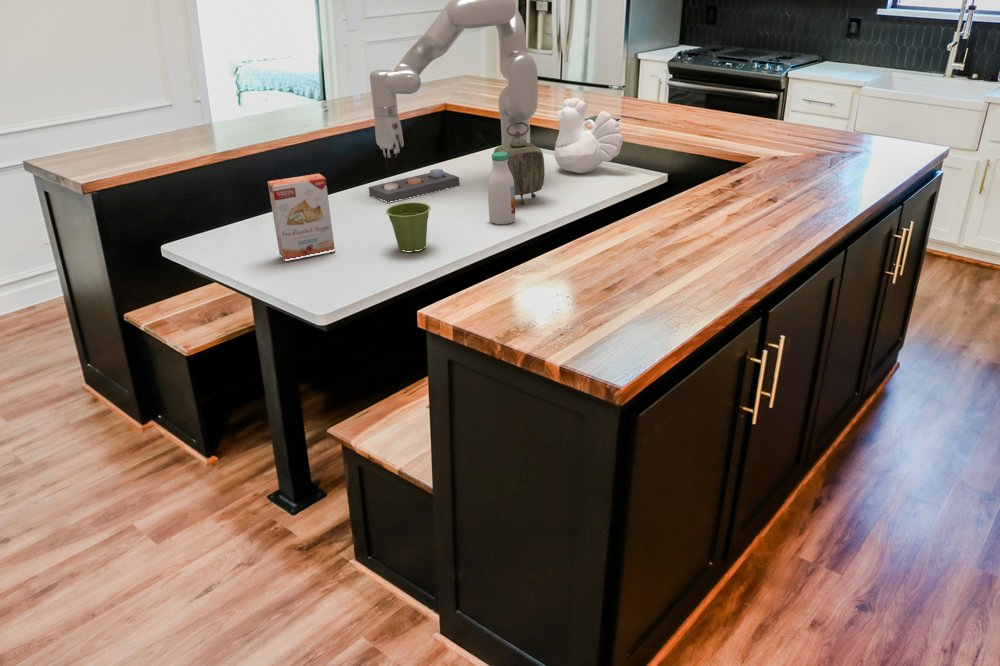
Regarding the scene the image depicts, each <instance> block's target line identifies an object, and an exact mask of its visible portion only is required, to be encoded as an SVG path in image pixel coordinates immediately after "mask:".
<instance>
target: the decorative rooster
mask: <svg viewBox="0 0 1000 666" xmlns="http://www.w3.org/2000/svg"><path fill="white" fill-rule="evenodd" d="M562 104H563V105H562V109H560V110H558V111H557V116H558V117H557V118H558V130H559V131H558V136H557V137H556V142H555V144H554V145H555V147H554V159H555V161H556V163H557V165H558V166H559V167H560V168H561V169H562V170H564V171H567V172H572V173H577V174H587V173H592V172H593V171H594V170H595V169H597V167H599V166H600V165H601V164H602V163H603V162H611V160H613V159H614V158H616V157H617V156H618V155H619V154H620V152H621V149H622V146H623V144H624V143H623V141H624V135H623V133H621V130H622V129H621V127H620V123H619V122H618V121H617V120H616V119H614V118H613V115H612V113H609V112H608V111H605V110H602V111H601V112H600V113H599V114H598V115H597V117H596V119H595V121H594V120H593V119H590V118H589V119H586V115H585V112H586V111H587V108H588V105H587V102H586V101H584V100H581V99H580V98H578V97H571V98H565V99H564V100H563V103H562ZM589 124H590V125H591V129H589V128H588V125H589Z"/></svg>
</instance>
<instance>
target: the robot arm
mask: <svg viewBox="0 0 1000 666" xmlns="http://www.w3.org/2000/svg"><path fill="white" fill-rule="evenodd" d="M493 26H494V27H495V28H496V31H497V33H498V43H499V69H500V70H499V71H500V74H501V75H502V77H503V78H505V80H507V86H505V87H504V88H503V89H502V90H501V91H500V93H499V95H498V111H499V117H500V130H501V132H500V133H501V146H502V145H506V144H510V142H511V140H512V139H513V138H515V136H510V135H509V134H508V133H507V128H508V126H509V125H510V124H512V123H515V122H524V123H526V124H527V125H528V127H529V130H528V132H527V133H526V134H524V135H522V136H520V137H522V138H524V139H525V140H526V143H530V144H531V125H530V119H531V118H532V117H533V116H534V115H535V114H536V112H537V109H538V103H539V102H538V101H539V91H538V89H539V85H538V81H539V80H538V68H537V64H536V62H535V60H534V58H533V57H532V56H531V55H530V54H528V52H527V51H528V50H527V49H528V48H527V38H526V27H525V23H524V19H523V17H522V15H521V13H520V11H519V9H518V8H517V7H516V3H515V1H514V0H449V2H447V4H446V5H445V6H444V8H443V9H442V10H441V11H440V13H439V14H438V15H437V17H436V18H435V19H434V21H433V22H432V23H431V25H430V26H429V27H428V28H427V30H426V31H425V32H424V34H423V35H422V36H421V37H420V38H419V39H418V40H417V41H416V42H415V43H414V44H413V45H412V46H411V47H410V48H409V50H407V52H406V53H405V54H404V55H403V57H402V58H401V60H400V61H399V62H398V63H397V65H396V66H395V68H394V70H393V71H392V70H389V69H376V70H372V71H371V72H370V73H369V82H370V90H371V91H370V92H371V100H372V101H371V102H372V110H373V118H374V134H375V143H376V145H378V146H379V149H380V150H382V153H383V156H384V161H385V169H386V170H387V171H393V170H397V169H398V162H397V157H398V154H399V153H401V151H400V150H401V149H400V148H404V146H405V145H404V144H405V143H404V137H403V130H402V123H401V119H400V117H399V110H398V101H397V94H398V95H413V94H414V93H417V92H418V91H419V90H420V88H421V85H422V79H421V76H420V75H421V74H422V72H424V70H426V68H427V66H428V65H430V64H431V63H432V62H433V61H434V60H436V59H438V58H439V59H440V58H441V57H442V56H444V55H445V54H446V53H448V51H449V49H450V48H451V47H452V46H453V44H454V43H455V42H456V40H457V39H458V37H460V35H461V34H462V33H463V32H464V30H465V29H466V30H467V29H471V30H472V29H479V28H481V29H482V28H488V27H493ZM517 131H519V132H520V134H521V133H524V132H526V131H527V126H525V125H523V124H516V125H513V126H511V127H510V128H509V129H508V132H509V133H511V134H516V132H517Z"/></svg>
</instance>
